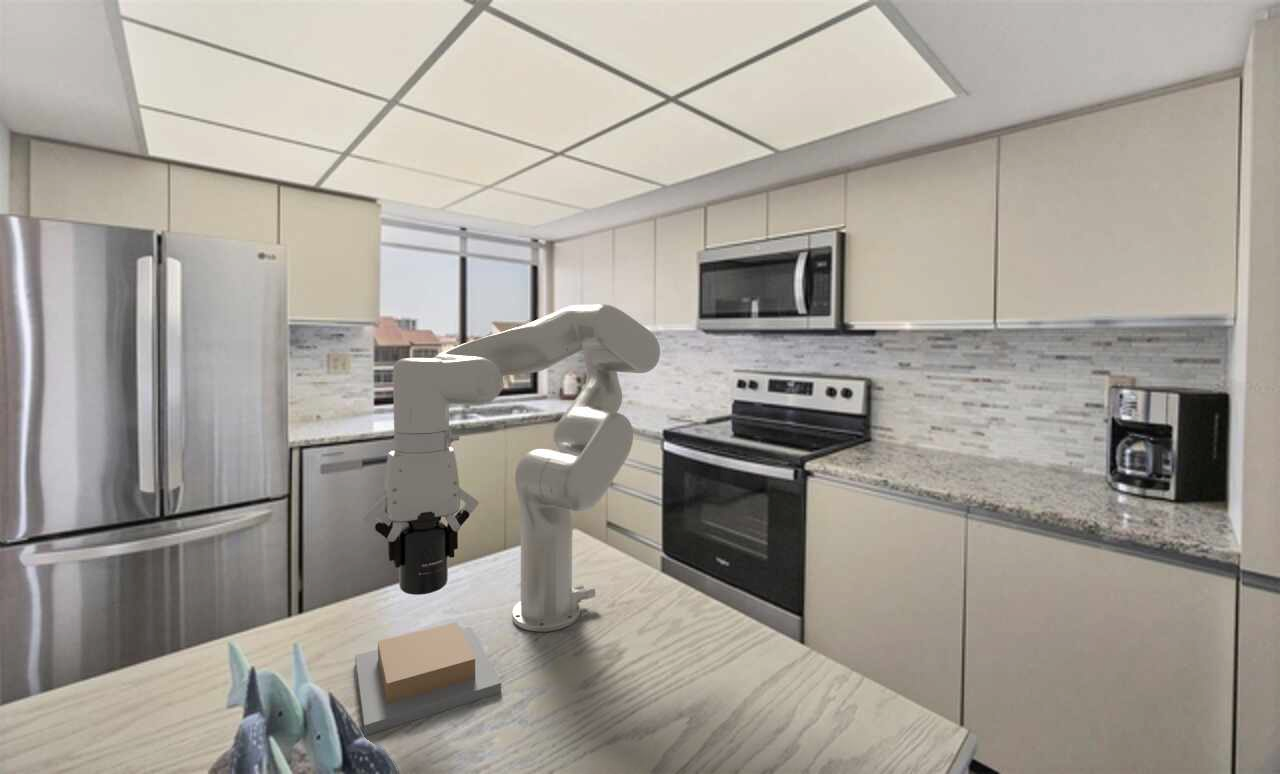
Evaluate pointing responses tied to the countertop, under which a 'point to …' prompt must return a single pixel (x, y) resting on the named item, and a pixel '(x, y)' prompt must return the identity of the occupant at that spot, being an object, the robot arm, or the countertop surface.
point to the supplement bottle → (423, 555)
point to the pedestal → (422, 676)
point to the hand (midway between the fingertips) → (424, 558)
